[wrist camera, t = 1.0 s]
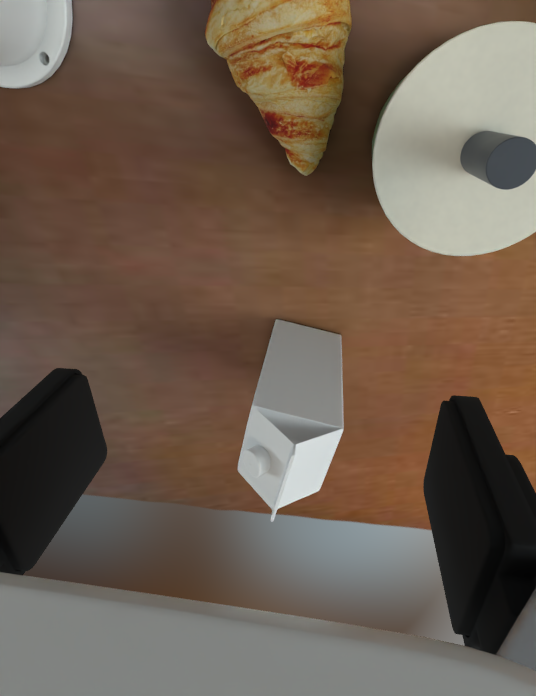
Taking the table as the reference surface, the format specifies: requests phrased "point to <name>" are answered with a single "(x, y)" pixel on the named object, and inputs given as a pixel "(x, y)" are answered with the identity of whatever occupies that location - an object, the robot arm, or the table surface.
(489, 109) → the lid
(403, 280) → the table surface
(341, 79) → the croissant
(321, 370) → the milk carton
